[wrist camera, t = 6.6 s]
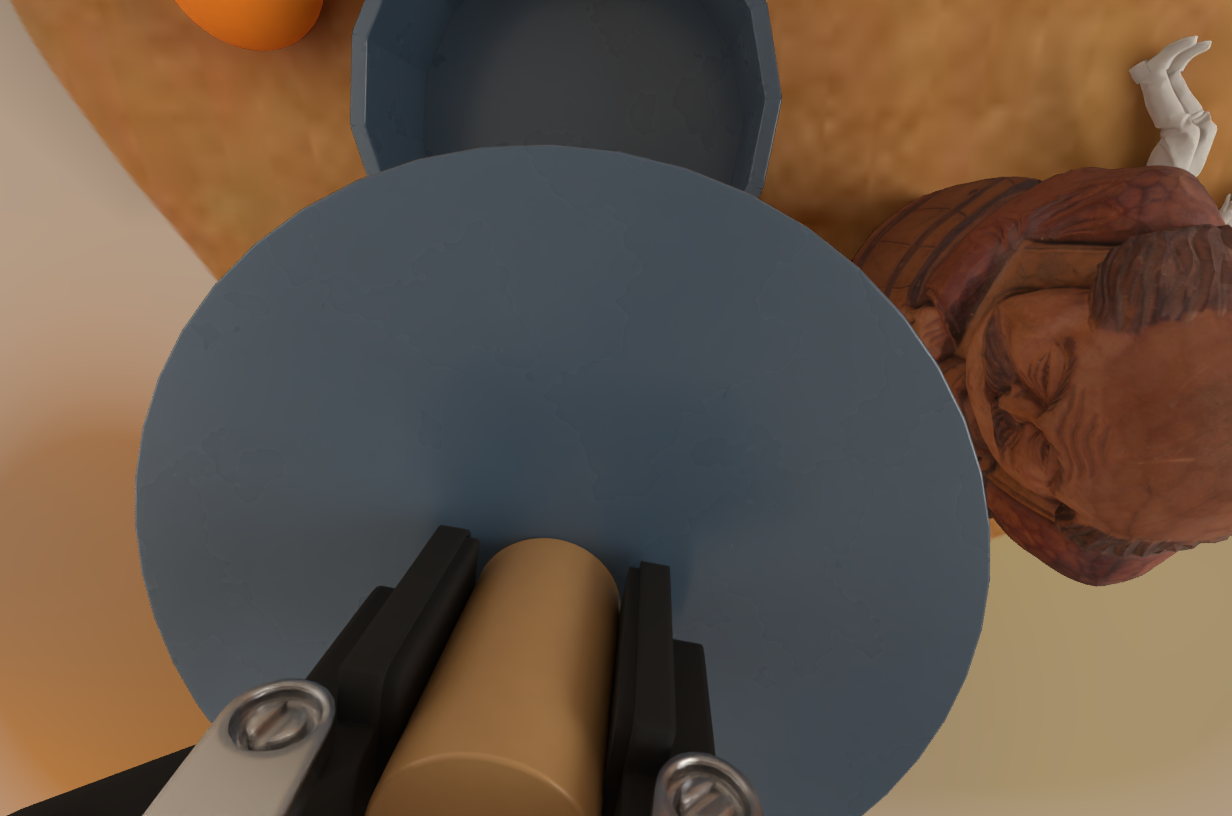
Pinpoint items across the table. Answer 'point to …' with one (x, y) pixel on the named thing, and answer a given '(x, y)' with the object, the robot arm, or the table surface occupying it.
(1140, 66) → the soldier figure
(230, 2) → the orange ball
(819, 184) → the table surface
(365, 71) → the dark blue round container
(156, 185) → the table surface
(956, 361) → the wooden figurine
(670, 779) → the robot arm
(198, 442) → the pan lid
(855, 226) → the table surface
